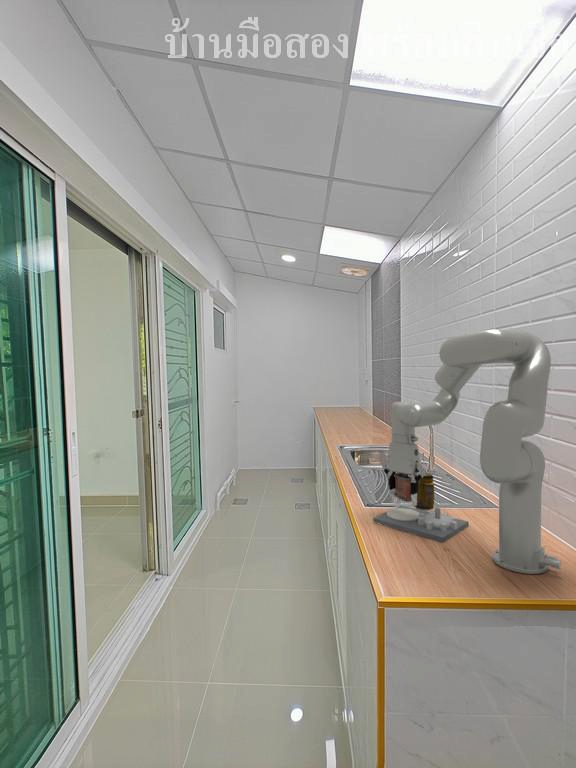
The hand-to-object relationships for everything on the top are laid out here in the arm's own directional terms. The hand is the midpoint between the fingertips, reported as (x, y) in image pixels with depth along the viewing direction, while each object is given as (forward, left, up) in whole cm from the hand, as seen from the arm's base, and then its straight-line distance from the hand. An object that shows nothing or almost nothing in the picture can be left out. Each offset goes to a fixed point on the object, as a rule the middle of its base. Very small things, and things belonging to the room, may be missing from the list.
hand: (403, 491), depth 141 cm
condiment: (+1, -17, -10) cm, 20 cm away
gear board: (-6, 0, -10) cm, 11 cm away
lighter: (0, 0, -3) cm, 3 cm away
